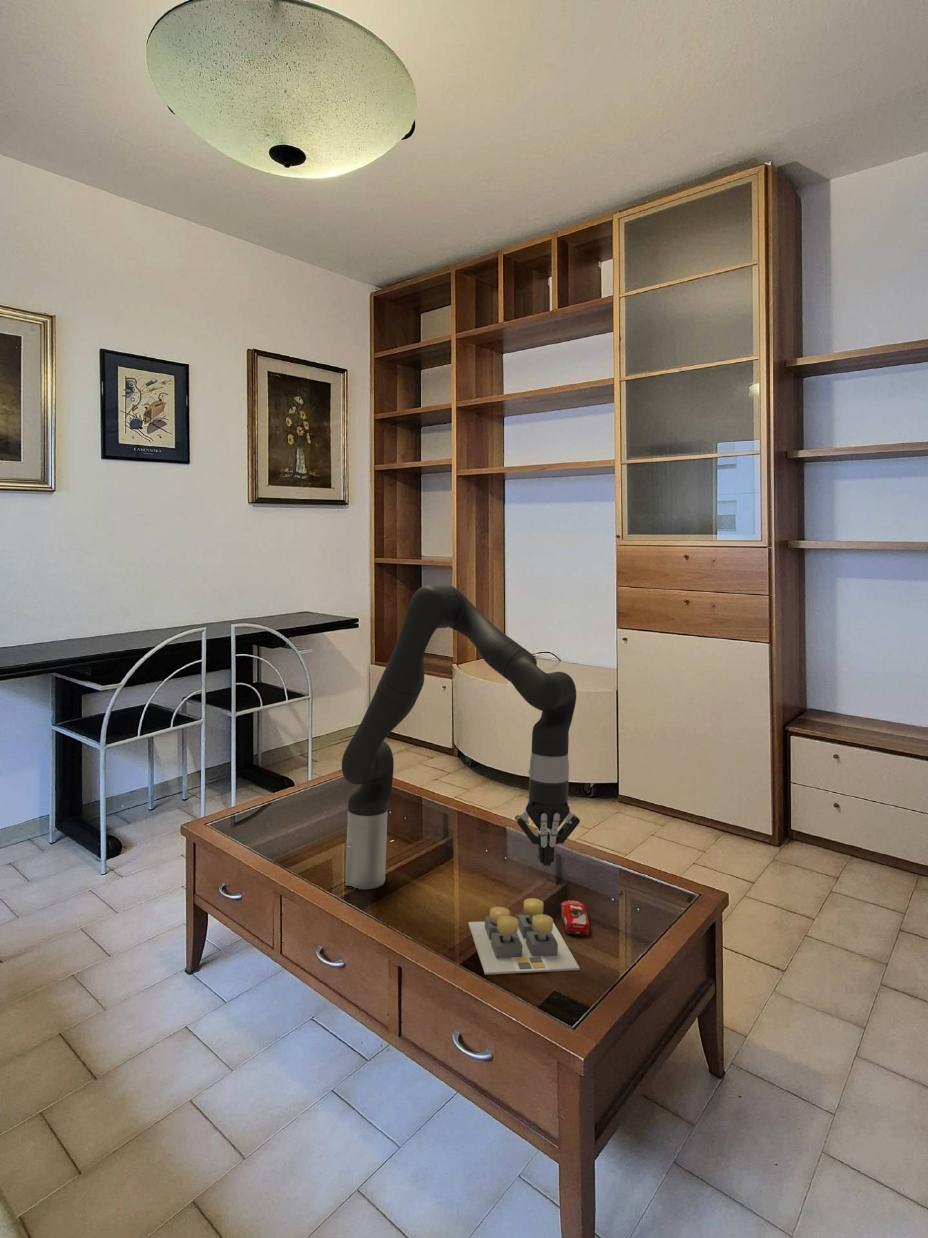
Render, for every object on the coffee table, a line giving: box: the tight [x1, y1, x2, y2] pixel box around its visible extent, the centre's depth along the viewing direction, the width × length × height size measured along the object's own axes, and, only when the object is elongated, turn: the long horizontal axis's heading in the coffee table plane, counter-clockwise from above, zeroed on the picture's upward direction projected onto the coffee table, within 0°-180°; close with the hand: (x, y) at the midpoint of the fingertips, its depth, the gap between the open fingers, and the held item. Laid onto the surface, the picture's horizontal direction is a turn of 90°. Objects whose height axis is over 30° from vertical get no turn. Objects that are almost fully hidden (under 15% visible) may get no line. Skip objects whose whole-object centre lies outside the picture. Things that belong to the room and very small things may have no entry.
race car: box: [560, 899, 590, 937], centre depth 150 cm, size 13×5×4 cm, turn 176°
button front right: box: [532, 913, 554, 941], centre depth 138 cm, size 4×4×4 cm
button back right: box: [523, 897, 544, 924], centre depth 145 cm, size 4×4×4 cm
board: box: [467, 914, 581, 975], centre depth 140 cm, size 18×19×3 cm
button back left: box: [489, 906, 511, 925], centre depth 144 cm, size 4×4×4 cm
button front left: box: [497, 915, 518, 943], centre depth 137 cm, size 4×4×4 cm
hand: (545, 864), depth 137 cm, fingers closed
